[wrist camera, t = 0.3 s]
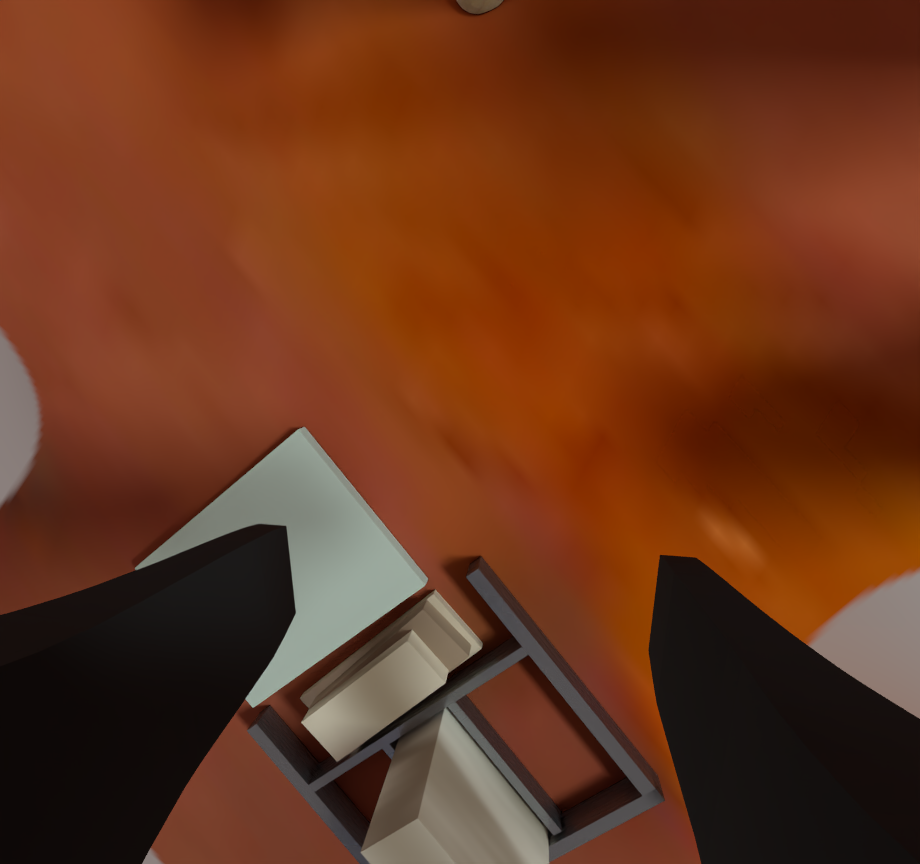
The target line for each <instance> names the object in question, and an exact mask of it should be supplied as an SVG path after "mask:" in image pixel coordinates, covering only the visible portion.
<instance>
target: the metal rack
mask: <svg viewBox="0 0 920 864" xmlns="http://www.w3.org/2000/svg"><path fill="white" fill-rule="evenodd" d="M466 578H467V579H468V580H469V582H470V583H471V584H472V585H473V586H474V588H475V589H476V590H477V591H478V593H479V594H480V595H481V596H482V598H483V599H484V600H485V601H486V603H487V604H488V605H489V606H490V608H491V609H492V610H493V611H494V612H495V614H496V615H497V616H498V617H499V619H500V620H501V621H502V622H503V624H504V625H505V626H506V627H507V629H508V630H509V631H510V632H511V634H512V635H513V637H512V638H510V639H509V640H507V641H506V642H504V643H503V644H501V645H500V646H498V647H497V648H495V649H494V650H492V651H491V652H489V653H487V654H486V655H484V656H483V657H481V658H480V659H478V660H477V661H475V662H474V663H472V664H471V665H469V666H468V667H466V668H465V669H463V670H462V671H460V672H458V673H457V674H455V675H454V676H452V677H451V678H449V679H448V680H446V683H445V684H444V685H442V686H441V687H440V688H438V689H437V690H435V691H434V692H433V693H431V694H430V695H429V696H427V697H426V698H424V699H423V700H422V701H420V702H419V703H418V704H416V705H415V706H413V707H412V708H411V709H409V710H408V711H407V712H405V713H404V714H402V715H401V716H400V717H398V718H397V719H396V720H394V721H393V722H392V723H390V724H389V725H387V726H386V727H385V728H383V729H382V730H381V731H379V732H378V733H376V734H375V735H374V736H372V737H371V738H370V739H368V740H367V741H365V742H364V743H363V744H362V745H360V746H359V747H358V748H357V749H356V750H354V751H353V752H352V753H351V752H350V753H349V754H348V755H346V756H345V757H343V758H342V759H341V760H339V761H338V762H337V761H336V760H335V759H334V758H333V757H332V756H330V757H329V758H327V759H326V760H324V761H323V762H321V763H320V764H319V763H318V762H317V760H316V759H315V758H314V757H313V756H312V755H311V753H310V752H309V751H308V750H307V749H306V747H305V746H304V745H303V744H302V743H301V742H300V740H299V739H298V738H297V737H296V736H295V734H294V733H293V732H292V731H291V730H290V728H289V727H288V726H287V725H286V724H285V723H284V721H283V720H282V719H281V718H280V717H279V715H278V714H277V713H276V712H275V711H274V710H273V708H272V707H271V706H268V707H267V708H265V709H264V710H263V711H261V712H260V714H259V715H258V716H257V718H256V719H255V720H254V722H253V723H252V724H251V726H250V727H249V729H248V730H247V731H248V733H249V734H250V735H251V736H252V737H253V739H254V740H255V741H256V742H257V743H258V744H259V746H260V747H261V748H262V749H263V750H264V751H265V753H266V754H267V755H268V756H269V757H270V759H271V760H272V761H273V762H274V763H275V764H276V766H277V767H278V768H279V769H280V770H281V772H282V773H283V774H284V775H285V776H286V777H287V779H288V780H289V781H290V782H291V783H292V784H293V786H294V787H295V788H296V789H297V790H298V792H299V793H300V794H301V795H302V796H303V797H304V799H305V800H306V801H307V802H308V803H309V804H310V806H311V807H312V808H313V809H314V810H315V812H316V813H317V814H318V815H319V816H320V817H321V819H322V820H323V821H324V822H325V823H326V824H327V826H328V827H329V828H330V829H331V830H332V832H333V833H334V834H335V835H336V836H337V837H338V839H339V840H340V841H341V842H342V843H343V845H344V846H345V847H346V848H347V849H348V850H349V852H350V853H351V854H352V855H353V856H354V857H355V859H356V860H357V861H358V862H359V863H360V864H370V863H369V862H368V861H367V859H366V858H365V857H364V856H363V855H362V854H361V849H362V846H363V844H364V841H365V838H366V835H367V832H368V829H369V826H370V823H369V822H368V821H367V820H366V819H365V817H364V816H363V815H362V814H361V813H360V811H359V810H358V809H357V808H356V807H355V806H354V804H353V803H352V802H351V801H350V800H349V798H348V797H347V796H346V795H345V794H344V792H343V791H342V790H341V789H340V788H339V787H338V785H337V784H336V783H335V782H334V781H333V780H334V779H335V778H337V777H339V776H340V775H342V774H343V773H345V772H346V771H348V770H349V769H351V768H353V767H354V766H356V765H357V764H359V763H360V762H362V761H364V760H365V759H367V758H368V757H370V756H371V755H373V754H374V753H376V752H378V751H379V750H381V749H383V750H384V751H385V753H386V754H387V755H388V756H389V757H390V759H391V760H392V758H393V755H394V752H395V749H396V746H397V743H398V740H399V737H401V736H402V735H404V734H406V733H407V732H409V731H410V730H412V729H413V728H415V727H417V726H418V725H420V724H421V723H423V722H424V721H426V720H427V719H429V718H431V717H432V716H434V715H435V714H437V713H438V712H440V711H441V710H443V709H445V708H446V707H448V708H449V709H450V710H451V711H452V712H453V714H454V715H455V716H456V717H457V719H458V720H459V721H460V722H461V723H462V725H463V726H464V727H465V728H466V729H467V731H468V732H469V733H470V734H471V736H472V737H473V738H474V739H475V740H476V742H477V743H478V744H479V745H480V746H481V748H482V749H483V750H484V751H485V753H486V754H487V755H488V756H489V757H490V759H491V760H492V761H493V762H494V763H495V765H496V766H497V767H498V768H499V770H500V771H501V772H502V773H503V774H504V776H505V777H506V778H507V779H508V781H509V782H510V783H511V784H512V785H513V787H514V788H515V789H516V790H517V791H518V793H519V794H520V795H521V796H522V798H523V799H524V800H525V801H526V802H527V804H528V805H529V806H530V807H531V808H532V810H533V811H534V812H535V813H536V815H537V816H538V817H539V818H540V819H541V821H542V822H543V823H544V824H545V826H546V827H547V828H548V844H549V862H550V861H552V860H554V859H556V858H558V857H560V856H562V855H564V854H565V853H567V852H569V851H571V850H573V849H575V848H577V847H579V846H580V845H582V844H584V843H586V842H588V841H590V840H592V839H594V838H595V837H597V836H599V835H601V834H603V833H605V832H607V831H609V830H610V829H612V828H614V827H616V826H618V825H620V824H622V823H624V822H625V821H627V820H629V819H631V818H633V817H635V816H637V815H639V814H640V813H642V812H644V811H646V810H648V809H650V808H652V807H654V806H655V805H657V804H659V803H661V802H663V801H665V799H664V796H663V792H662V789H661V785H660V781H659V778H658V775H657V774H656V773H655V772H654V771H653V769H652V768H651V767H650V766H649V764H648V763H647V762H646V761H645V759H644V758H643V757H642V756H641V754H640V753H639V752H638V751H637V749H636V748H635V747H634V746H633V744H632V743H631V742H630V741H629V739H628V738H627V737H626V736H625V734H624V733H623V732H622V731H621V729H620V728H619V727H618V726H617V724H616V723H615V722H614V721H613V719H612V718H611V717H610V716H609V715H608V713H607V712H606V711H605V710H604V708H603V707H602V706H601V705H600V703H599V702H598V701H597V700H596V698H595V697H594V696H593V695H592V693H591V692H590V691H589V690H588V688H587V687H586V686H585V685H584V683H583V682H582V681H581V680H580V678H579V677H578V676H577V675H576V673H575V672H574V671H573V670H572V668H571V667H570V666H569V665H568V663H567V662H566V661H565V660H564V659H563V657H562V656H561V655H560V654H559V652H558V651H557V650H556V649H555V647H554V646H553V645H552V644H551V642H550V641H549V640H548V639H547V637H546V636H545V635H544V634H543V632H542V631H541V630H540V629H539V627H538V626H537V625H536V624H535V622H534V621H533V620H532V619H531V617H530V616H529V615H528V614H527V612H526V611H525V610H524V609H523V608H522V606H521V605H520V604H519V603H518V601H517V600H516V599H515V598H514V596H513V595H512V594H511V593H510V591H509V590H508V589H507V588H506V586H505V585H504V584H503V583H502V581H501V580H500V579H499V578H498V576H497V575H496V574H495V573H494V571H493V570H492V569H491V568H490V566H489V565H488V564H487V563H486V561H485V560H484V559H483V558H482V556H481V557H479V558H478V559H476V560H475V561H474V562H472V563H471V564H470V565H469V568H468V572H467V575H466ZM527 655H529V656H530V657H531V658H532V660H533V661H534V662H535V663H536V664H537V666H538V667H539V668H540V669H541V671H542V672H543V673H544V674H545V676H546V677H547V678H548V679H549V681H550V682H551V683H552V684H553V686H554V687H555V688H556V689H557V690H558V692H559V693H560V694H561V695H562V697H563V698H564V699H565V700H566V702H567V703H568V704H569V705H570V707H571V708H572V709H573V710H574V712H575V713H576V714H577V715H578V716H579V718H580V719H581V720H582V721H583V723H584V724H585V725H586V726H587V728H588V729H589V730H590V731H591V733H592V734H593V735H594V736H595V738H596V739H597V740H598V741H599V742H600V744H601V745H602V746H603V747H604V749H605V750H606V751H607V752H608V754H609V755H610V756H611V757H612V759H613V760H614V761H615V762H616V764H617V765H618V766H619V767H620V769H621V770H622V771H623V772H624V773H625V775H626V776H627V778H625V779H623V780H622V781H620V782H618V783H616V784H614V785H613V786H611V787H609V788H607V789H605V790H604V791H602V792H600V793H598V794H596V795H594V796H593V797H591V798H589V799H587V800H585V801H584V802H582V803H580V804H578V805H576V806H575V807H573V808H571V809H569V810H567V811H566V812H564V813H562V814H561V810H560V809H559V808H558V807H557V806H556V804H555V803H554V802H553V801H552V799H551V798H550V797H549V796H548V795H547V793H546V792H545V791H544V790H543V789H542V787H541V786H540V785H539V784H538V782H537V781H536V780H535V779H534V778H533V776H532V775H531V774H530V773H529V771H528V770H527V769H526V768H525V767H524V765H523V764H522V763H521V762H520V760H519V759H518V758H517V757H516V756H515V754H514V753H513V752H512V751H511V749H510V748H509V747H508V746H507V745H506V743H505V742H504V741H503V740H502V738H501V737H500V736H499V735H498V734H497V732H496V731H495V730H494V729H493V727H492V726H491V725H490V724H489V723H488V721H487V720H486V719H485V718H484V716H483V715H482V714H481V713H480V712H479V710H478V709H477V708H476V707H475V705H474V704H473V703H472V702H471V701H470V699H469V698H468V697H467V696H466V694H468V693H470V692H471V691H473V690H474V689H476V688H477V687H479V686H480V685H482V684H484V683H485V682H487V681H488V680H490V679H491V678H493V677H494V676H496V675H498V674H499V673H501V672H502V671H504V670H505V669H507V668H509V667H510V666H512V665H513V664H515V663H516V662H518V661H519V660H521V659H523V658H524V657H526V656H527Z"/></svg>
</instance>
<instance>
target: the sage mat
mask: <svg viewBox="0 0 920 864" xmlns="http://www.w3.org/2000/svg"><path fill="white" fill-rule="evenodd" d="M255 524H270V525H283V526H286V527H287V536H288V545H289V554H290V563H291V572H292V581H293V590H294V600H295V609H296V614H295V616H294V618H293V620H292V622H291V624H290V627H289V629H288V631H287V633H286V635H285V637H284V639H283V641H282V643H281V644H280V646H279V648H278V650H277V652H276V654H275V656H274V658H273V659H272V661H271V662H270V664H269V665H268V667H267V668H266V670H265V671H264V672H263V674H262V675H261V677H260V678H259V680H258V681H257V683H256V684H255V686H254V687H253V689H252V690H251V691H250V693H249V694H248V696H247V697H246V700H247V702H248V703H249V704H250V705H251V706H252V707H253V708H254V707H255V706H257V705H258V704H259V703H261V702H262V701H264V700H265V699H266V698H268V697H269V696H271V695H272V694H273V693H275V692H276V691H278V690H279V689H280V688H282V687H283V686H285V685H286V684H287V683H289V682H290V681H292V680H293V679H295V678H296V677H297V676H299V675H300V674H302V673H303V672H304V671H306V670H307V669H309V668H310V667H311V666H313V665H314V664H316V663H317V662H318V661H320V660H321V659H323V658H324V657H325V656H327V655H328V654H330V653H331V652H332V651H334V650H335V649H337V648H338V647H339V646H341V645H342V644H344V643H345V642H347V641H348V640H349V639H351V638H352V637H354V636H355V635H356V634H358V633H359V632H361V631H362V630H363V629H365V628H366V627H368V626H369V625H370V624H372V623H373V622H375V621H376V620H377V619H379V618H380V617H382V616H383V615H384V614H386V613H387V612H389V611H390V610H391V609H393V608H394V607H396V606H397V605H398V604H400V603H401V602H403V601H404V600H406V599H407V598H408V597H410V596H411V595H413V594H414V593H415V592H417V591H418V590H420V589H421V588H422V587H424V586H425V585H426V583H427V580H428V578H427V577H426V576H425V574H424V573H423V572H422V571H421V569H420V568H419V567H418V566H417V564H416V563H415V562H414V561H413V560H412V558H411V557H410V556H409V555H408V553H407V552H406V551H405V550H404V548H403V547H402V546H401V545H400V544H399V542H398V541H397V540H396V539H395V537H394V536H393V535H392V534H391V532H390V531H389V530H388V529H387V528H386V526H385V525H384V524H383V523H382V521H381V520H380V519H379V518H378V516H377V515H376V514H375V513H374V512H373V510H372V509H371V508H370V507H369V505H368V504H367V503H366V502H365V500H364V499H363V498H362V497H361V496H360V494H359V493H358V492H357V491H356V489H355V488H354V487H353V486H352V484H351V483H350V482H349V481H348V480H347V478H346V477H345V476H344V475H343V473H342V472H341V471H340V470H339V468H338V467H337V466H336V465H335V464H334V462H333V461H332V460H331V459H330V457H329V456H328V455H327V454H326V452H325V451H324V450H323V449H322V448H321V446H320V445H319V444H318V443H317V441H316V440H315V439H314V438H313V436H312V435H311V434H310V433H309V432H308V430H307V429H306V428H305V427H303V428H300V429H298V430H297V431H296V432H294V433H293V434H292V435H291V436H290V437H289V438H287V439H286V440H285V441H284V442H283V443H281V444H280V445H279V446H278V447H277V448H276V449H274V450H273V451H272V452H271V453H270V454H268V455H267V456H266V457H265V458H264V459H263V460H261V461H260V462H259V463H258V464H257V465H256V466H254V467H253V468H252V469H251V470H250V471H248V472H247V473H246V474H245V475H244V476H243V477H241V478H240V479H239V480H238V481H237V482H235V483H234V484H233V485H232V486H231V487H230V488H228V489H227V490H226V491H225V492H224V493H223V494H221V495H220V496H219V497H218V498H217V499H215V500H214V501H213V502H212V503H211V504H210V505H208V506H207V507H206V508H205V509H204V510H202V511H201V512H200V513H199V514H198V515H197V516H195V517H194V518H193V519H192V520H191V521H190V522H188V523H187V524H186V525H185V526H184V527H182V528H181V529H180V530H179V531H178V532H177V533H175V534H174V535H173V536H172V537H171V538H169V539H168V540H167V541H166V542H165V543H164V544H162V545H161V546H160V547H159V548H158V549H157V550H155V551H154V552H153V553H152V554H151V555H149V556H148V557H147V558H146V559H145V560H144V561H142V562H141V563H140V564H139V565H138V566H136V567H135V569H136V570H138V569H141V568H143V567H146V566H148V565H151V564H154V563H156V562H159V561H161V560H164V559H166V558H169V557H171V556H173V555H176V554H178V553H181V552H183V551H186V550H188V549H190V548H193V547H195V546H198V545H200V544H203V543H205V542H208V541H210V540H213V539H215V538H218V537H220V536H223V535H225V534H228V533H231V532H233V531H236V530H239V529H242V528H245V527H248V526H252V525H255Z"/></svg>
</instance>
